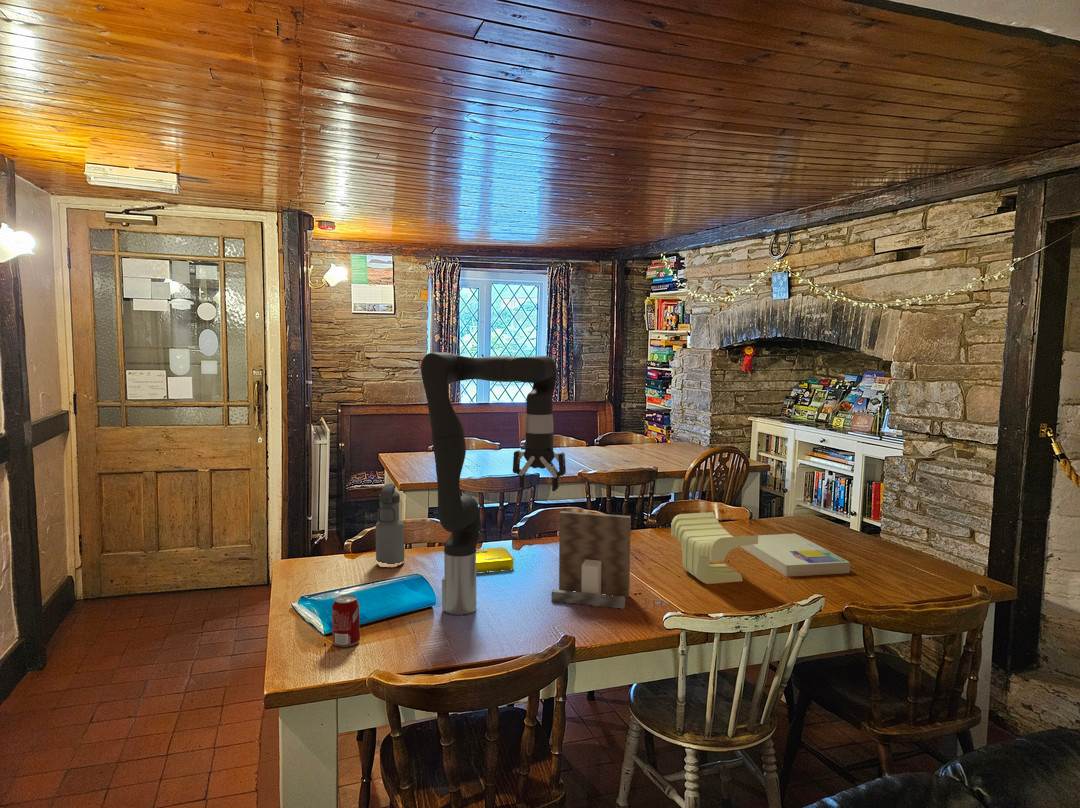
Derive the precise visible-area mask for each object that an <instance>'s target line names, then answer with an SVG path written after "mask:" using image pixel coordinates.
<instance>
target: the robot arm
mask: <svg viewBox="0 0 1080 808" xmlns="http://www.w3.org/2000/svg"><path fill="white" fill-rule="evenodd" d="M420 365H421V366H420V373H421V379H422V384H423V388H424V393H425V397H426V403H427V407H428V409H427V410H428V414H429V422H430V427H431V440H432V447H433V455H434V461H435V473H436V481H437V483H436V484H437V512H438V513H437V515H438V520H439V523H440V525H441V527H442V528H443V529H444V530H445V531H446V532H448V533H451V534H450V535H449V537H448V538H447V540H445V543H444V546H443V547H444V548H443V550H444V551H443V553H444V554H443V555H444V557H443V558H444V562H443V563H444V576H443V578H442V579H441V612H445V611H446V612H445V613H447V614H449V613H450V614H449V615H453V614H454V615H455V616H464V615H463V614H465V615H469V613H470V614H472V613H474V612H476V610H477V574H476V549H477V545H478V543H479V539H480V521H481V516H480V515H481V512H480V507H479V504H478V503H477V500H476V499H475V498H473V497H472V496H470V495H461V489H460V483H461V482H460V480H461V474H462V471H463V467H464V463H465V459H466V454H467V453H466V452H467V448H466V438H465V431H464V427H463V424H462V421H461V419H460V418H459V416H458V415H457V413H456V411H455V408H454V407H453V404H452V403H451V399H450V394H449V386H448V385H449V384H452V383H458V382H462V381H468V380H469V381H470V380H481V381H487V382H497V383H498V382H499V383H500V382H501V383H502V382H503V383H504V382H505V383H512V382H515V383H516V382H517V383H518V382H519V383H527V384H532V389H531V391H530V392H528V394H527V396H526V403H525V404H526V413H525V415H526V417H525V423H524V424H525V426H524V430H525V432H524V433H525V434H524V435H525V436H524V437H525V444H524V445H525V447H524V448H525V449H524V451H521V450H516V451H514V452H513V456H512V457H513V458H512V459H513V460H512V461H513V462H512V473H513V474H516V475H518V476H519V488H521V490H524V491H525V490H526V489H527V474H526V473H527V472H528V471H529V469H531V468H532V469H546V470H547V471H548V472H549V473H550V475H551V476H552V477H551V478H552V479H551V481H552V484H551V485H552V486H551V487H552V488H551V491H552V492H556V491H557V490H558V489H559V487H560V477H562V476H564V475H566V473H567V468H566V454H565V452H564V451H563V452H562V451H561V452H560V453H557V452H556V453H555V452H554V418H553V417H554V416H553V412H554V411H553V405H554V404H553V403H554V402H553V397H554V392H555V388H556V384H557V378H558V368H557V365H556V362H555V360H553V358H551V356H547V355H540V356H538V355H536V356H512V355H510V356H509V355H507V356H506V355H505V356H504V355H501V356H499V355H498V356H497V355H495V356H484V357H473V356H470V357H469V356H464V355H459V354H454V353H452V352H451V353H450V352H446V351H445V352H435V351H434V352H429V353H427V354H426V355H425V356H424V357H423V359H422V361H421V364H420ZM523 457H524V459H525V460H526V463H525V464H524V465H523V467H522V468H520V467H521V466H520V464H521V459H523ZM554 459H556V461H557V462H558V469H557V468H556V465H555V464H554V463H553V460H554Z"/></svg>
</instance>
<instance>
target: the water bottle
mask: <svg viewBox="0 0 1080 808" xmlns="http://www.w3.org/2000/svg"><path fill="white" fill-rule="evenodd" d="M395 490H396V484H395V483H386V484H385V485H384V486H383V487H382V489H381V493H380V494H379V495H378V498H379V502H378V503H379V508H378V509H377V513H376V514H377V515H376V516H377V522H376V523H375V561H376V560H377V561H378V562H382V563H387V564H395V563H400V562H403V561H404V559H405V524H404V523H405V522H404V521H403V520H402V519H400V503H401V502H400V498H401V497H400V496H401V495H400V493H399V492H397V491H395ZM404 562H405V561H404Z"/></svg>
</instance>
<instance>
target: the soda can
mask: <svg viewBox="0 0 1080 808" xmlns="http://www.w3.org/2000/svg"><path fill="white" fill-rule="evenodd" d="M357 598H358V597H357V595H354V594H351V593H350V594H348V593H347V594H346V593H345V594H340V595H337V596H335V598H334V600H333V603H332V605H331V618H332V620H331V621H332V623H331V624H332V625H331V626H332V644H333V645H334V646H337V647H339V646H341V647H340V648H348V646H350V647H352V646H354V645H356V644H358V643H359V642H360V640H361V632H360V631H361V629H360V627H361V625H360V623H361V622H360V621H361V620H360V602H359V601H358V600H357Z"/></svg>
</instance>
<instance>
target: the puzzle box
mask: <svg viewBox="0 0 1080 808" xmlns="http://www.w3.org/2000/svg"><path fill="white" fill-rule="evenodd" d="M739 548H741V549H742V550H745V551H746V552H747V553H749V554H751V555H752V556H754V557H755V558H757V559H758V560H760V561H761V562H763V563H765V565H767V566H769V567H771V568H772V569H773V570H775V571H777V572H779V573H780V574H782V575H784V576H785V577H803V576H806V577H807V576H819V575H820V576H821V575H823V576H824V575H838V574H839V575H840V574H850V573H851V562H850V561H848V560H846V559H844V558H843V557H841V556H840V555H837V554H835V553H834V552H832V551H830V550H828V549H826V548H825V547H822V546H820V545H818V544H817V543H814V542H812V541H811V540H809V539H807V538H805V537H803V536H801V535H799V534H797V533H780V534H758V544H752V545H745V546H740V547H739Z"/></svg>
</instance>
